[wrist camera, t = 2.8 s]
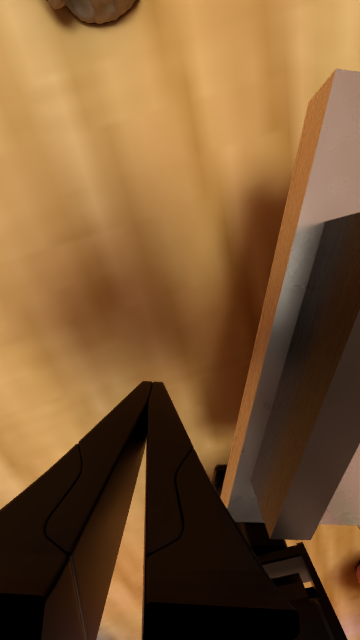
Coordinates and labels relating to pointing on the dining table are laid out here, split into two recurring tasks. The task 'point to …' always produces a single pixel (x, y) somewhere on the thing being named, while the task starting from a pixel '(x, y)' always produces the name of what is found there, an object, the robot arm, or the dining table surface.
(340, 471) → the lid
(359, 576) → the decorative flower
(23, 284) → the dining table surface
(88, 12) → the elongated rock
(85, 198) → the dining table surface
